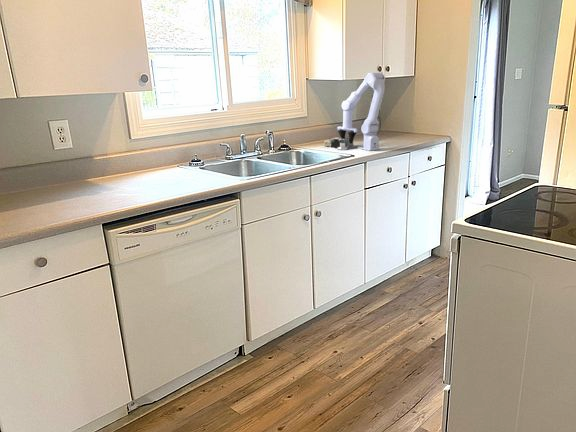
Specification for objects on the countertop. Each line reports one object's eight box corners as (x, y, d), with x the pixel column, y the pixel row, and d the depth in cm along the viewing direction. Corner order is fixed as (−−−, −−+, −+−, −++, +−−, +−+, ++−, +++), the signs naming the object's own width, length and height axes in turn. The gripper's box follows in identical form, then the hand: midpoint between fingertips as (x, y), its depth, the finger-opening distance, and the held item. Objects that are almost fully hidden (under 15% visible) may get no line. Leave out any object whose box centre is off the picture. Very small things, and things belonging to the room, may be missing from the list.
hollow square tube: (353, 146, 291) (353, 138, 289) (348, 147, 288) (348, 139, 286) (347, 145, 294) (347, 137, 293) (341, 146, 291) (342, 138, 290)
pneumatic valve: (325, 145, 300) (344, 145, 297) (323, 147, 289) (342, 148, 286) (325, 136, 298) (344, 136, 296) (323, 138, 287) (342, 139, 285)
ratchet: (341, 150, 277) (341, 143, 276) (335, 149, 282) (335, 142, 281) (358, 148, 283) (359, 141, 282) (353, 147, 288) (353, 140, 287)
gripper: (334, 119, 289) (333, 141, 294) (352, 122, 279) (351, 144, 284) (342, 118, 294) (341, 140, 298) (359, 121, 284) (358, 143, 288)
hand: (346, 142), depth 291 cm, fingers open, 6 cm apart
